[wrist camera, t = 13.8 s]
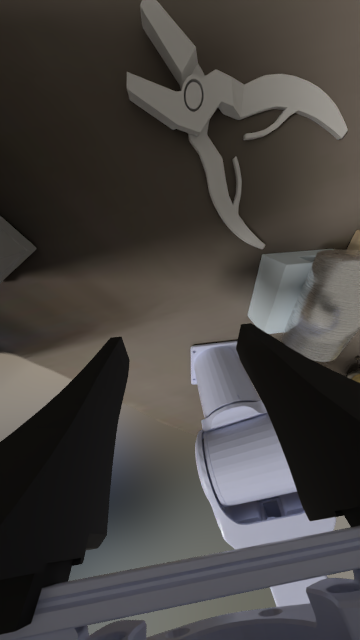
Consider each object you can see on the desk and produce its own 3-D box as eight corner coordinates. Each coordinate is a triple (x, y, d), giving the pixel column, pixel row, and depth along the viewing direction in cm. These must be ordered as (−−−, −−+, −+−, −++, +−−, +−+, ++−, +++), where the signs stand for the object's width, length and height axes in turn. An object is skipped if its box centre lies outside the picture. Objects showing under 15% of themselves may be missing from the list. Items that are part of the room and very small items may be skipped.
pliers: (265, 253, 16) (110, 154, 11) (257, 250, 17) (116, 160, 12) (363, 120, 11) (171, -162, 6) (342, 129, 12) (169, -98, 7)
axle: (311, 327, 19) (352, 358, 15) (272, 331, 19) (303, 364, 15) (354, 247, 14) (434, 263, 10) (302, 252, 14) (362, 270, 10)
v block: (302, 309, 22) (327, 327, 19) (247, 315, 22) (263, 334, 18) (331, 248, 18) (370, 257, 14) (262, 254, 17) (286, 264, 14)
